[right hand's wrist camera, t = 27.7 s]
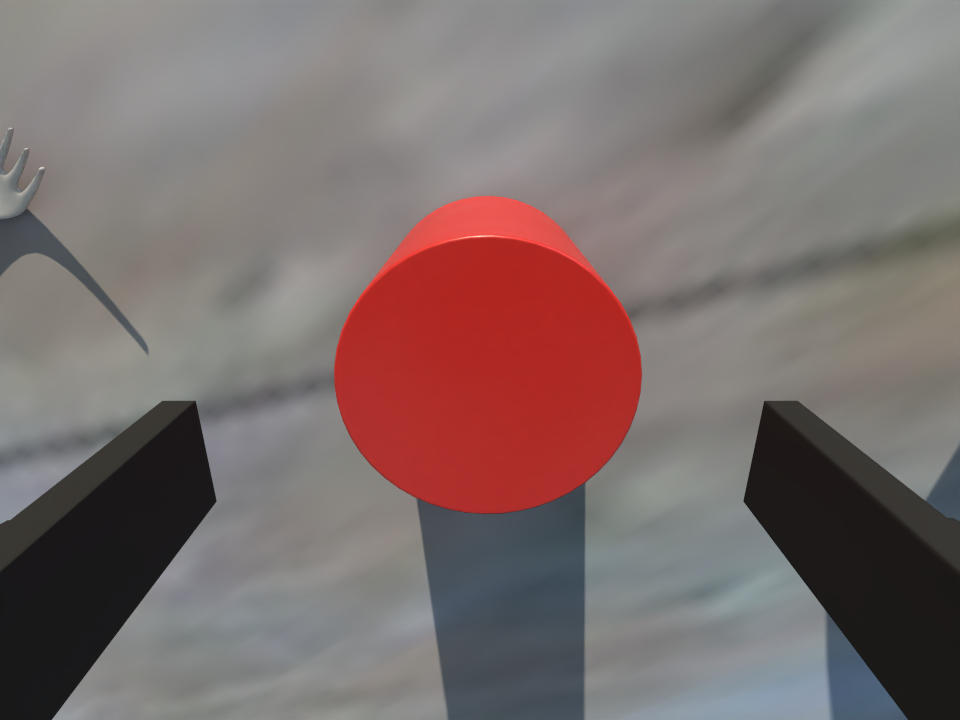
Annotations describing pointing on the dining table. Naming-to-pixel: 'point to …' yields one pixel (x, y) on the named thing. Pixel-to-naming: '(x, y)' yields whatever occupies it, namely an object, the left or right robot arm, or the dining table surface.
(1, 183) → the fork
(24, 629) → the right robot arm
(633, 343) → the canister
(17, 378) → the dining table surface
